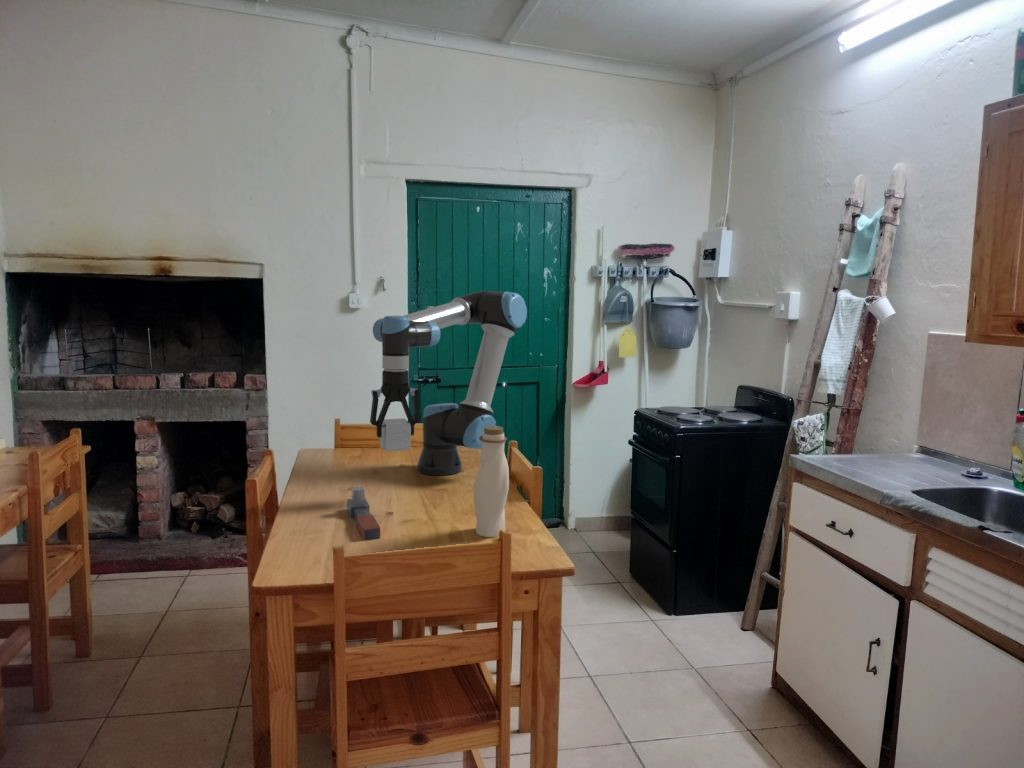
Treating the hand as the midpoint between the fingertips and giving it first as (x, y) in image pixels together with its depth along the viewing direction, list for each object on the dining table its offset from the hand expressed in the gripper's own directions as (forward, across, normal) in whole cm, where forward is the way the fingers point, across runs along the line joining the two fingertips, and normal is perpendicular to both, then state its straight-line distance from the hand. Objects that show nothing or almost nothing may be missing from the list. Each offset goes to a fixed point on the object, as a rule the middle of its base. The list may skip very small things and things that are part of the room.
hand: (395, 446), depth 199 cm
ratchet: (+16, +12, +17) cm, 26 cm away
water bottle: (+16, -18, +32) cm, 40 cm away
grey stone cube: (0, 0, 0) cm, 0 cm away
